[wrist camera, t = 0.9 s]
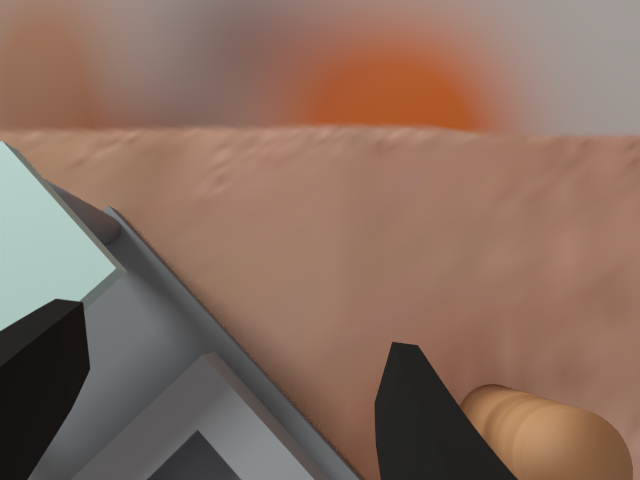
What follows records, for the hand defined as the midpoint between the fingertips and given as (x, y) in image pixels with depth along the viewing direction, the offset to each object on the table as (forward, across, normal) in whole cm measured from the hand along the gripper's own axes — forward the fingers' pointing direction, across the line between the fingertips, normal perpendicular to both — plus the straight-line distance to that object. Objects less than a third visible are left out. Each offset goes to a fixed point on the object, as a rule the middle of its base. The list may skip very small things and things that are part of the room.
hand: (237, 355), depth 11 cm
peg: (+9, -13, +11) cm, 19 cm away
